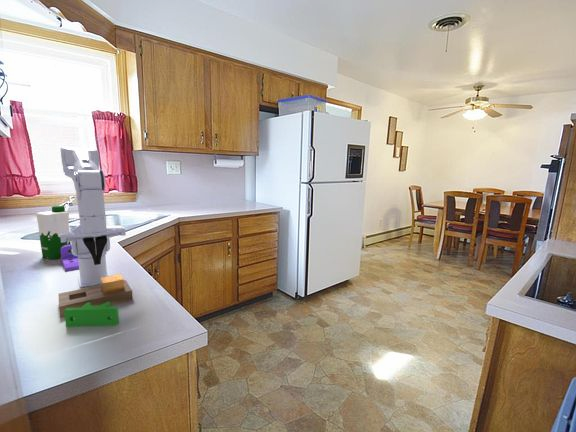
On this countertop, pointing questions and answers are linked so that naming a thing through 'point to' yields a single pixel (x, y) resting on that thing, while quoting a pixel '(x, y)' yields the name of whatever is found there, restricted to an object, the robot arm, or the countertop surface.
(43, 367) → the countertop surface
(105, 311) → the pipe clamp
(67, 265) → the bracket
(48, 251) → the milk carton
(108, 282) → the orange block
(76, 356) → the countertop surface
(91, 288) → the board
